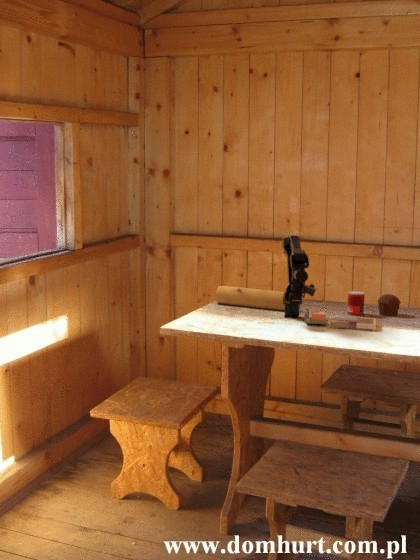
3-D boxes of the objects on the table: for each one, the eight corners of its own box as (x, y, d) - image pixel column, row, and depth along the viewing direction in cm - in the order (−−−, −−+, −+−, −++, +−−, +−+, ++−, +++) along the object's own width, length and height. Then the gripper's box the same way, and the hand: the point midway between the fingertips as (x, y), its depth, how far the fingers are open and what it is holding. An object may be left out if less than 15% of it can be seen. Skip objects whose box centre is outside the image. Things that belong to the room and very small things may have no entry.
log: (291, 309, 408) (292, 290, 407) (284, 312, 400) (285, 292, 398) (223, 301, 425) (223, 283, 424) (215, 304, 417) (215, 285, 415)
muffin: (403, 317, 394) (404, 296, 393) (382, 317, 392) (383, 297, 391) (394, 312, 406) (395, 292, 404) (373, 312, 404) (374, 292, 402)
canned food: (363, 316, 394) (364, 294, 392) (346, 315, 395) (347, 293, 394) (363, 313, 401) (364, 291, 400) (347, 312, 403) (348, 290, 401)
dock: (328, 330, 365) (328, 321, 364) (330, 324, 379) (330, 315, 378) (375, 333, 361) (375, 324, 360) (375, 327, 374) (375, 318, 374)
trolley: (304, 325, 368) (304, 313, 368) (306, 321, 379) (306, 309, 378) (326, 327, 366) (326, 314, 366) (327, 322, 377) (328, 310, 376)
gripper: (313, 283, 361) (312, 317, 363) (317, 277, 379) (315, 309, 381) (288, 281, 363) (287, 315, 365) (293, 276, 381) (292, 308, 383)
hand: (296, 312), depth 374 cm, fingers open, 9 cm apart
